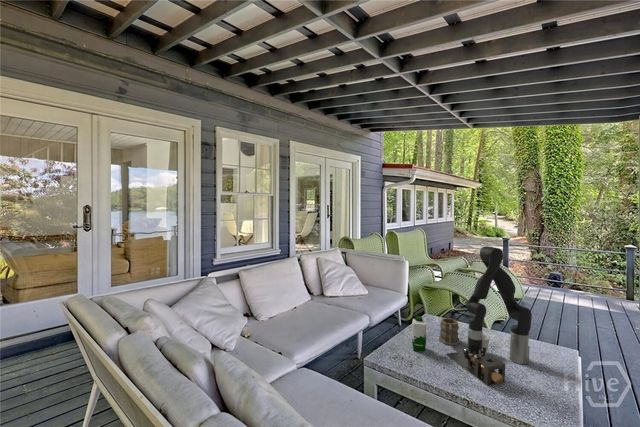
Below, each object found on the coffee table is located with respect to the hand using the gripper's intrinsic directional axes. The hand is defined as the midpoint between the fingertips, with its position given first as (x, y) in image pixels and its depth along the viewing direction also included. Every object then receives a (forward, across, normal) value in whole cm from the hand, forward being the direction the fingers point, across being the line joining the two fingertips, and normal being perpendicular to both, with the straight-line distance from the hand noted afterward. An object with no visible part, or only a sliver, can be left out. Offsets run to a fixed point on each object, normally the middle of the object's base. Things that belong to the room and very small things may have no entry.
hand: (474, 365), depth 184 cm
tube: (+1, 0, +7) cm, 7 cm away
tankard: (+2, -6, -31) cm, 31 cm away
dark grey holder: (+2, 0, -1) cm, 2 cm away
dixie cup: (+2, -18, -15) cm, 23 cm away
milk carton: (+2, +18, -29) cm, 34 cm away
